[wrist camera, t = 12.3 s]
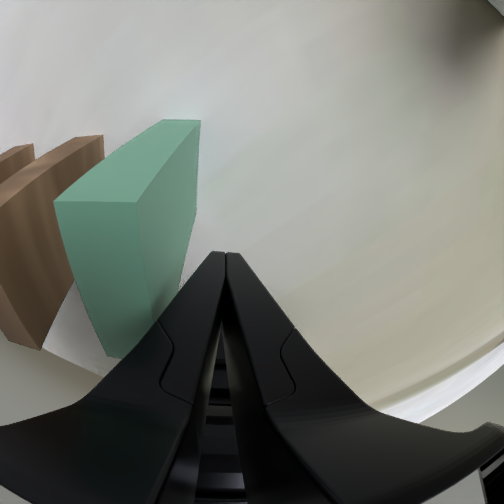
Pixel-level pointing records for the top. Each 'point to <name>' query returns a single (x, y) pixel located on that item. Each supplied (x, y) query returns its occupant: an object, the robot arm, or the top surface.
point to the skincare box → (498, 5)
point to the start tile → (132, 230)
